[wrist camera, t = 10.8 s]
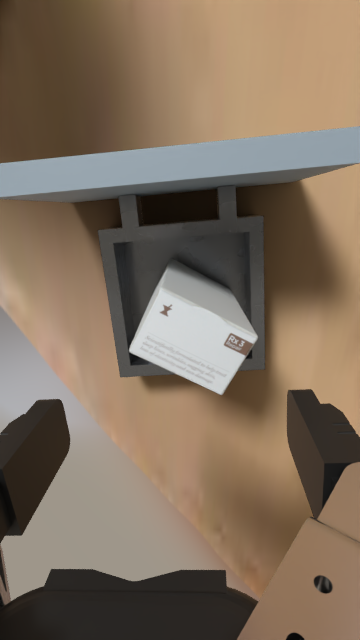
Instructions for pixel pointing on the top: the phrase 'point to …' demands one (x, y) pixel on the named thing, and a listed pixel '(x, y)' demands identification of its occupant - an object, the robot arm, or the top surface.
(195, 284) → the skincare box
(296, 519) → the top surface
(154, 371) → the grey open tray
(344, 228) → the top surface
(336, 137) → the backboard
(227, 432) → the top surface
